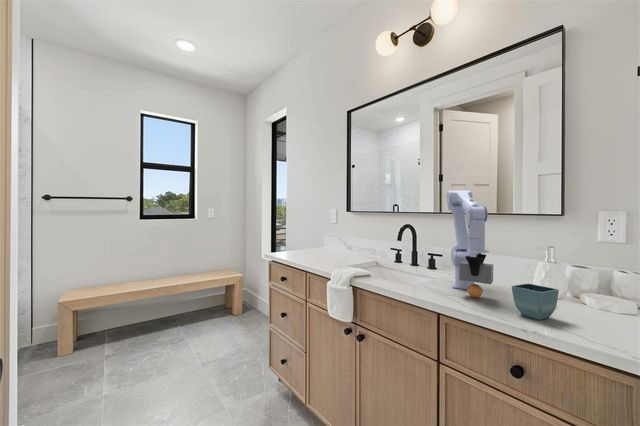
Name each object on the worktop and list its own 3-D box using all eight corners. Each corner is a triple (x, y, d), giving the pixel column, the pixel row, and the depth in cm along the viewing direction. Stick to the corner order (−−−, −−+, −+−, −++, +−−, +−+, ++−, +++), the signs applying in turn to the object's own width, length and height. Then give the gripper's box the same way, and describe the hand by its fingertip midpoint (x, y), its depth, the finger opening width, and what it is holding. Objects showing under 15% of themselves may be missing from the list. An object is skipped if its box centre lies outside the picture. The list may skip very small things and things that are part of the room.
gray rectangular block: (462, 277, 112) (462, 261, 112) (493, 281, 106) (493, 264, 106) (459, 279, 107) (459, 263, 107) (491, 284, 101) (491, 266, 101)
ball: (485, 287, 107) (479, 298, 108) (472, 280, 109) (466, 291, 111) (484, 290, 103) (477, 301, 104) (470, 282, 105) (464, 293, 107)
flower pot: (510, 314, 88) (510, 285, 89) (528, 310, 92) (528, 282, 92) (541, 323, 80) (541, 292, 80) (559, 319, 84) (559, 289, 84)
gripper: (485, 240, 98) (485, 278, 98) (490, 237, 110) (490, 272, 110) (463, 238, 103) (463, 276, 102) (470, 236, 114) (470, 270, 114)
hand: (476, 274), depth 106 cm, fingers closed on gray rectangular block, 6 cm apart
